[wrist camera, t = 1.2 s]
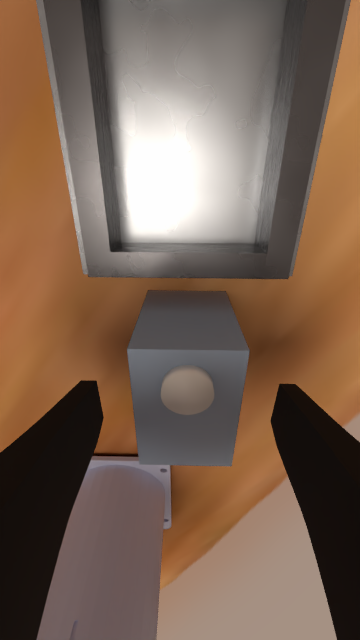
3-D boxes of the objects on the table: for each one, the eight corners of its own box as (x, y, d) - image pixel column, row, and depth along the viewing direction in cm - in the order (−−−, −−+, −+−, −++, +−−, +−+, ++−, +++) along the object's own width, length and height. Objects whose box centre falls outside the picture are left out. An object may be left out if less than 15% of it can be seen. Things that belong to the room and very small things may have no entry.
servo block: (217, 381, 16) (233, 477, 11) (153, 380, 16) (137, 476, 11) (225, 290, 13) (253, 359, 8) (148, 289, 13) (123, 358, 8)
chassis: (288, 273, 13) (310, 291, 10) (86, 271, 13) (66, 288, 10) (361, -87, 8) (435, -203, 5) (28, -85, 8) (-36, -197, 5)
